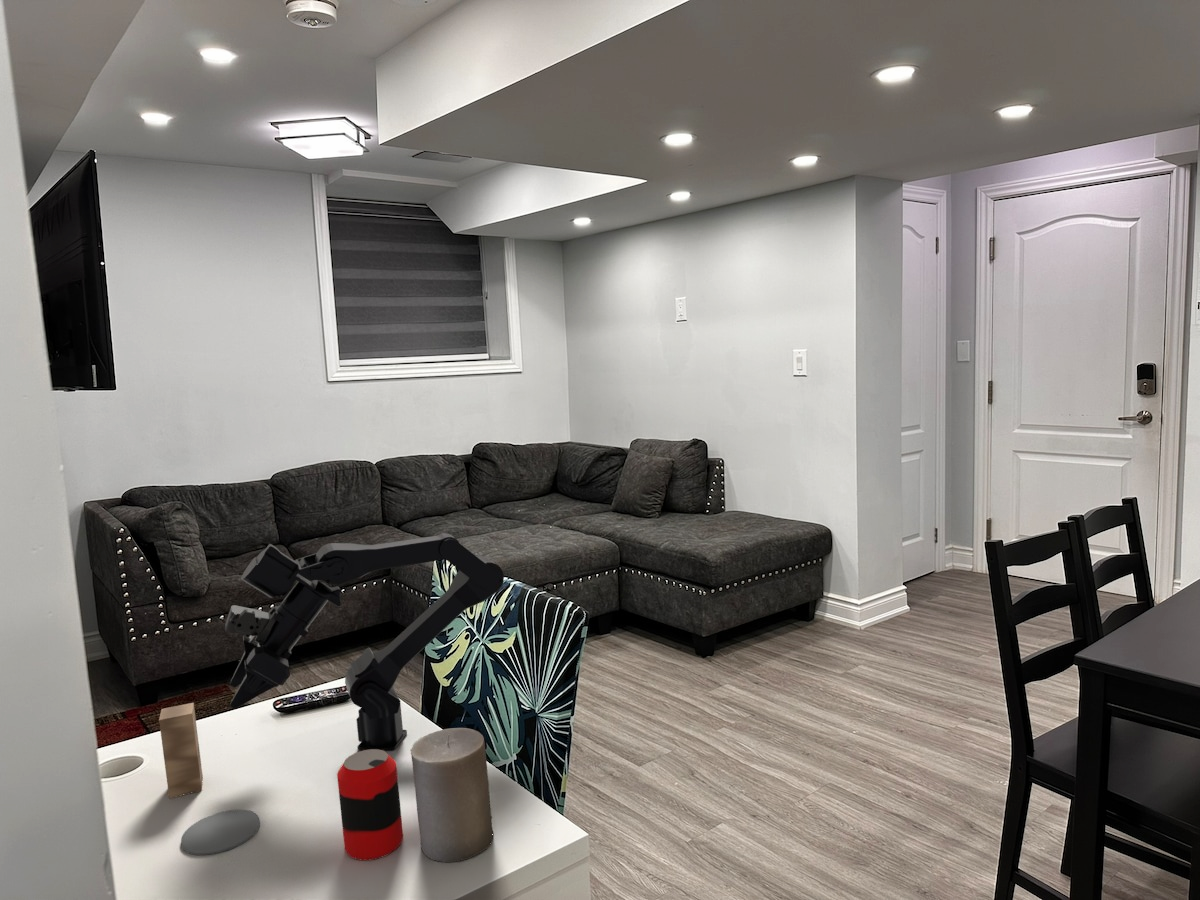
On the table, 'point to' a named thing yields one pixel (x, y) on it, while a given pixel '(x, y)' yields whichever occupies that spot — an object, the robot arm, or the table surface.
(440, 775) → the pillar candle
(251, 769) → the table surface
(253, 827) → the charcoal coaster
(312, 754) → the table surface
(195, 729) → the walnut block
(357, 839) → the soda can
